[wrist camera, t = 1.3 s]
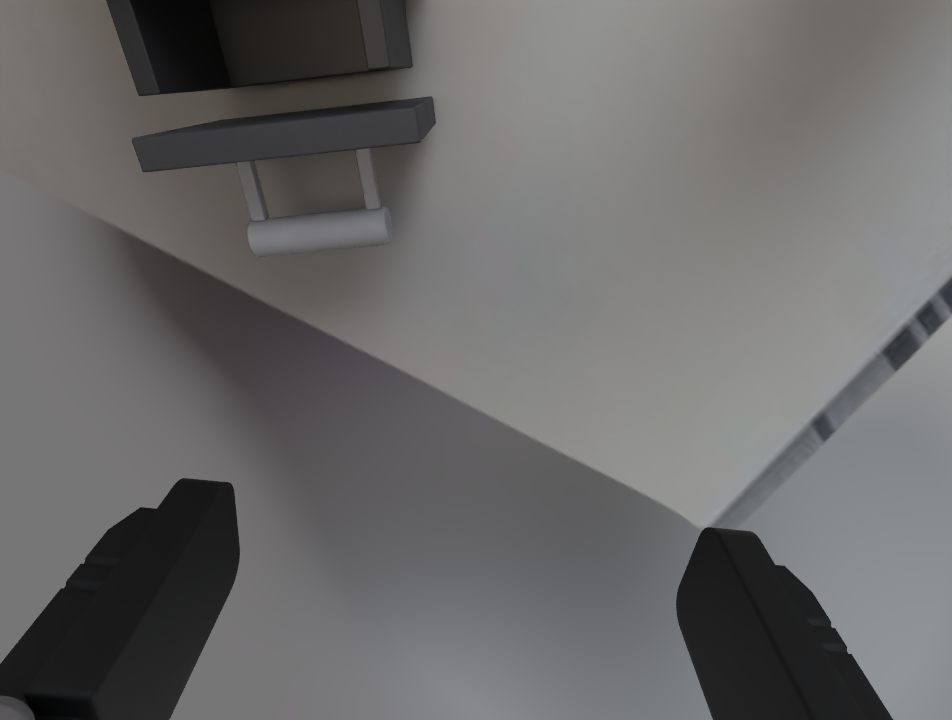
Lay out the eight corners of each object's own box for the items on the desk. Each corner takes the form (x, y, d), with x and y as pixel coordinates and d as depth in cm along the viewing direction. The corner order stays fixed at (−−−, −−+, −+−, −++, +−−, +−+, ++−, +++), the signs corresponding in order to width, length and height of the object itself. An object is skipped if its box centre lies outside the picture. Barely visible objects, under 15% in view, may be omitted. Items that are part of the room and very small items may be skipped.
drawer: (446, 213, 29) (436, 258, 22) (251, 232, 30) (181, 282, 23) (392, -229, 22) (350, -368, 15) (130, -191, 22) (-30, -308, 15)
